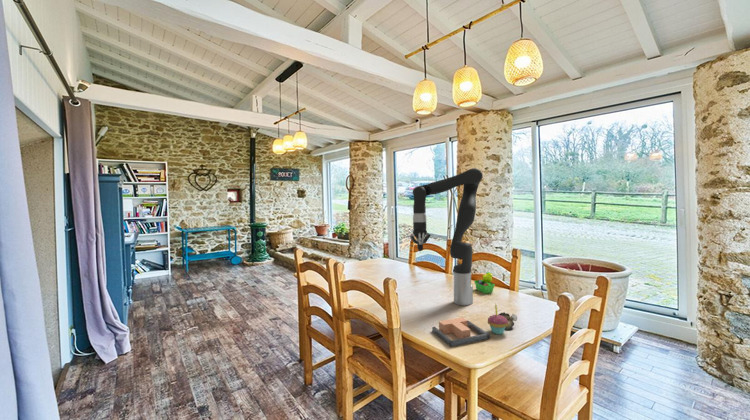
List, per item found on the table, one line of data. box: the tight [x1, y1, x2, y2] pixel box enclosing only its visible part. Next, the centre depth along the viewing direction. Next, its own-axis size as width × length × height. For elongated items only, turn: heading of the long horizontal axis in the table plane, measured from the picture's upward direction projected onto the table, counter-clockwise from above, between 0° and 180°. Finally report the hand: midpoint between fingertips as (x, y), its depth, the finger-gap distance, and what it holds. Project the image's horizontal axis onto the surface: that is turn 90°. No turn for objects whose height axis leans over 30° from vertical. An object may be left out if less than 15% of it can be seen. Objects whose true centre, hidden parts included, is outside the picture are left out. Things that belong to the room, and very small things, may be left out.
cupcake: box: [487, 303, 509, 335], centre depth 139 cm, size 9×8×12 cm
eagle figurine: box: [497, 311, 518, 331], centre depth 144 cm, size 8×7×9 cm
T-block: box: [438, 316, 471, 339], centre depth 139 cm, size 12×12×4 cm
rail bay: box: [431, 320, 491, 348], centre depth 137 cm, size 18×15×2 cm
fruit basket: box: [473, 271, 496, 294], centre depth 194 cm, size 11×9×11 cm
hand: (420, 250), depth 186 cm, fingers closed
